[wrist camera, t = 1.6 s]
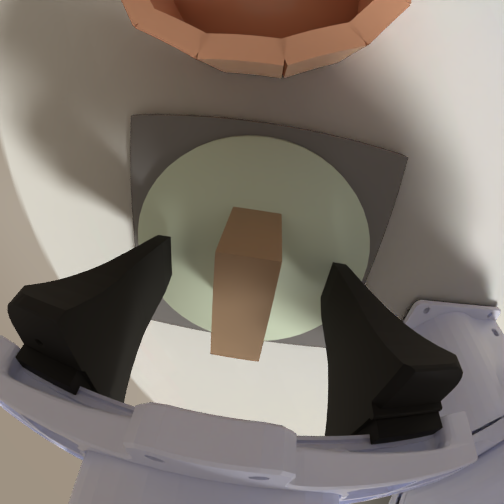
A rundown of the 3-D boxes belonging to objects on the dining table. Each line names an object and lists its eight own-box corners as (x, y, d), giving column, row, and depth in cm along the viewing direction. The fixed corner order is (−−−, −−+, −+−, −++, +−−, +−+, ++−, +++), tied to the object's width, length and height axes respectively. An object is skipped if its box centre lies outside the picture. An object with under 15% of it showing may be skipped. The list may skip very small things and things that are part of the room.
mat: (403, 155, 10) (408, 157, 10) (332, 342, 17) (333, 348, 16) (136, 114, 10) (131, 115, 10) (148, 313, 17) (146, 318, 16)
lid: (395, 164, 10) (444, 199, 7) (328, 342, 16) (335, 400, 12) (140, 126, 10) (81, 145, 7) (152, 314, 16) (127, 367, 12)
